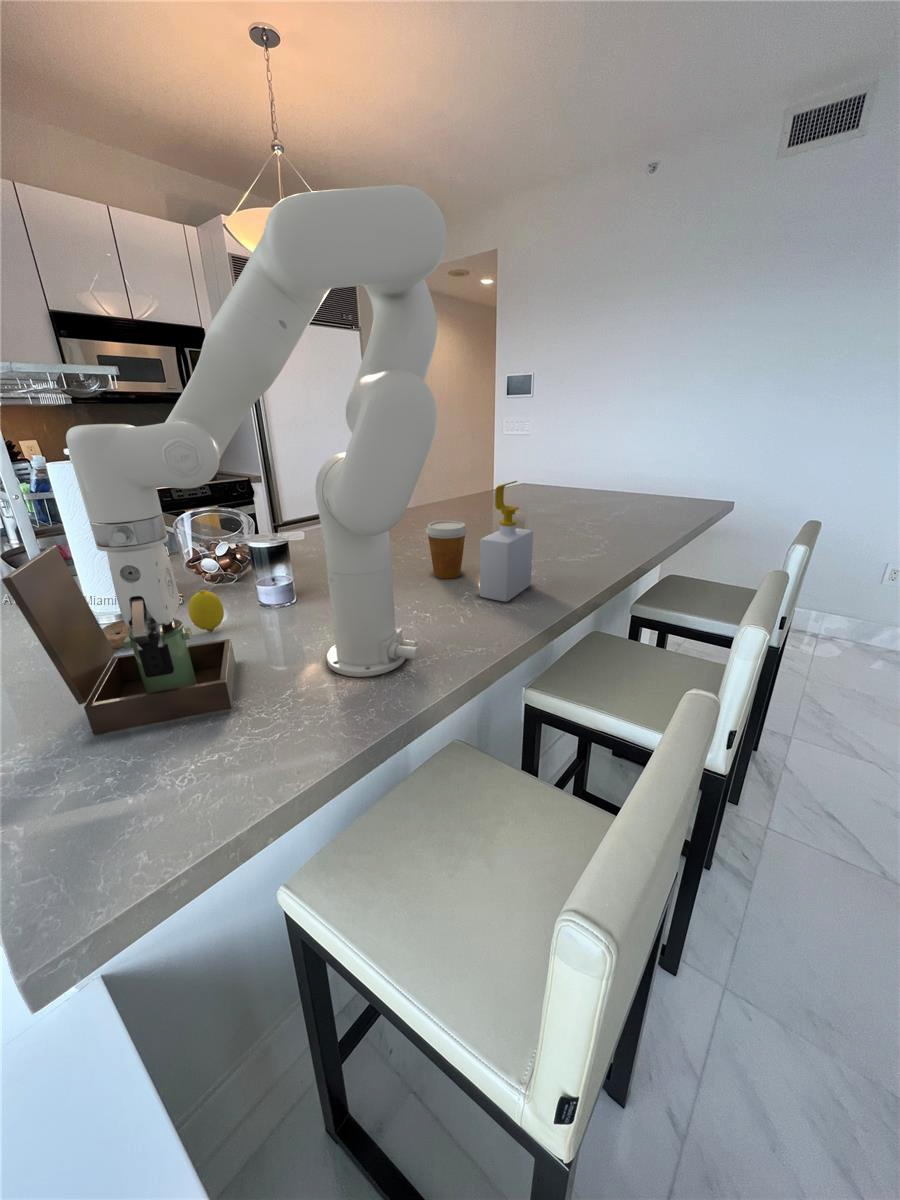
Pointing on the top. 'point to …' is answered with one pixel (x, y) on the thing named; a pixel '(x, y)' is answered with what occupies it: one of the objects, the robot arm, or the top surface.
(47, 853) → the top surface
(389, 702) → the top surface
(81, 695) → the chest lid
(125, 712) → the chest
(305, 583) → the top surface
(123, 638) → the oil lamp
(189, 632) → the green pot
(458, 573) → the disposable coffee cup
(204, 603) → the lemon
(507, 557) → the soap bottle
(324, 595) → the top surface
